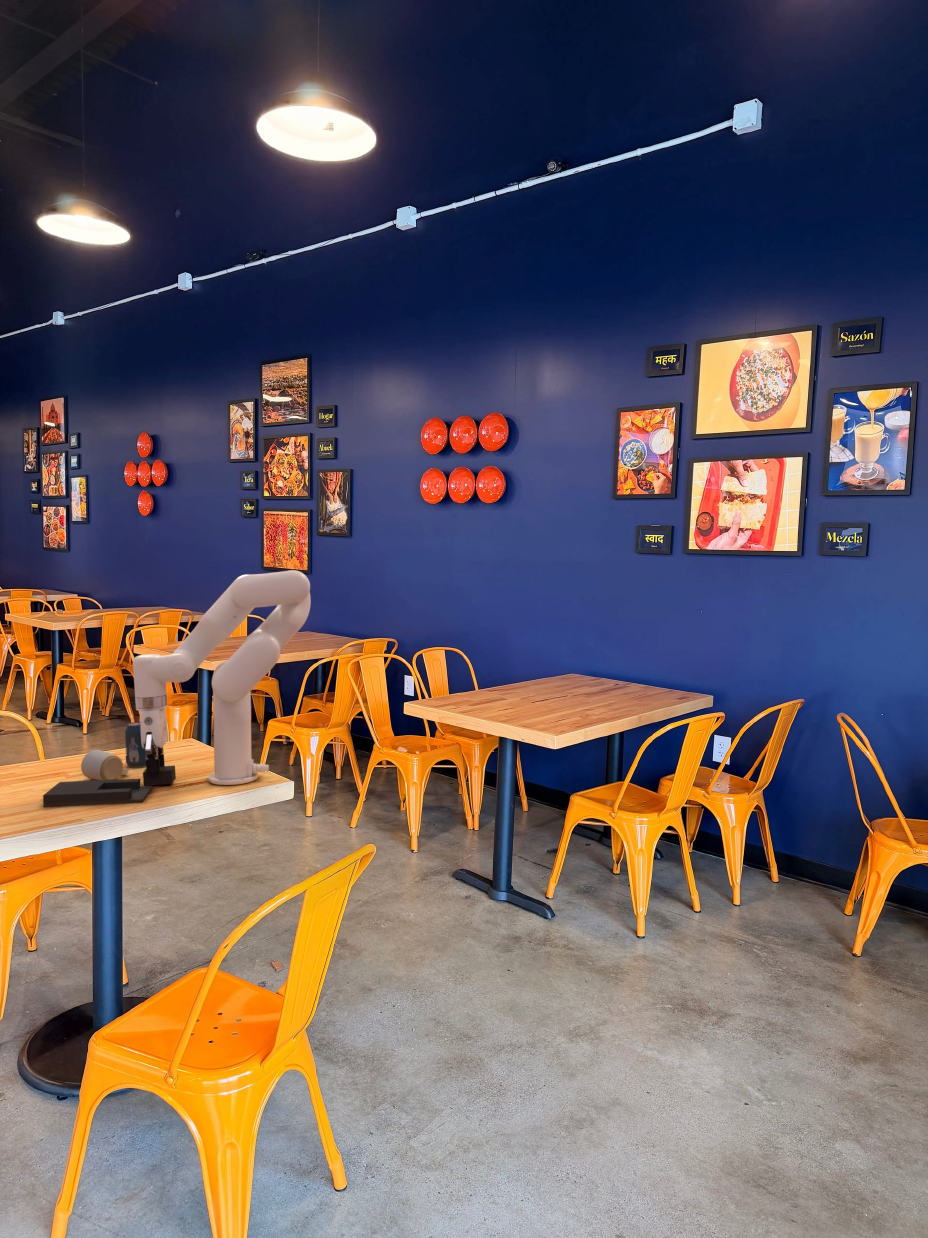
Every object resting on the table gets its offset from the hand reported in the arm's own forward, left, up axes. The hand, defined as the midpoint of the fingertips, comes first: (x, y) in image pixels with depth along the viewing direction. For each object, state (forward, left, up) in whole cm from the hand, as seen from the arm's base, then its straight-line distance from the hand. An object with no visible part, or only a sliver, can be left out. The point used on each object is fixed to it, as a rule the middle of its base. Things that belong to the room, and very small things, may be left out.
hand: (155, 771), depth 206 cm
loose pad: (-1, 0, -3) cm, 3 cm away
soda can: (+9, -22, -4) cm, 24 cm away
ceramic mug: (+14, -8, -4) cm, 16 cm away
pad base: (+11, +10, -3) cm, 15 cm away
